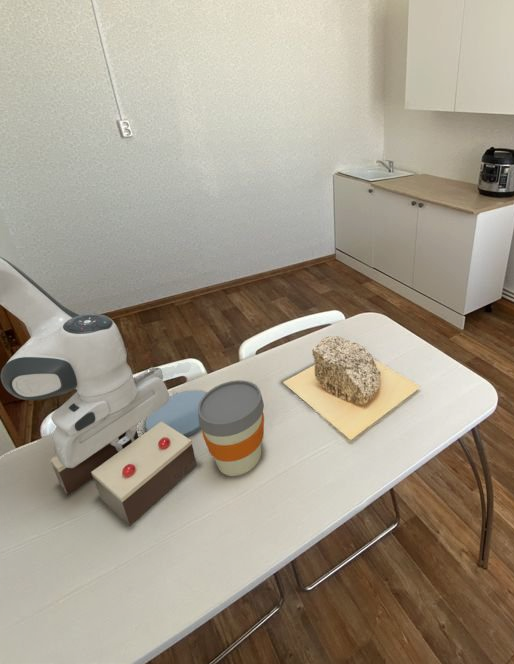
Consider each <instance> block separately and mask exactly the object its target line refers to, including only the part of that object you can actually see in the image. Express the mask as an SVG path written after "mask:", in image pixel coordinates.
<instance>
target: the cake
mask: <svg viewBox="0 0 514 664" xmlns="http://www.w3.org/2000/svg"><path fill="white" fill-rule="evenodd" d="M138 437H139V438H138V439H136V440H135V441H133V442H132V443H131V444H129V445H128V446H126V447H125V448H124V449H122V450H121V451H120V452H118V453H117V454H115V455H114V456H113V457H111V458H110V459H109V460H107V461H106V462H104V463H103V464H102V465H100V466H99V467H97V468H96V469H95V470H93V471H92V472H91V473H92V476H93V478H92V479H93V481H94V484H95V488H96V490H97V493H98V496H99V498H100V500H101V501H102V502H103V503H104V504H105V505H107V506H108V507H109V508H110V509H111V510H112V511H113V512H114V513H115V514H116V515H117V516H119V517H120V518H121V519H122V520H123V521H124V522H125V523H126V524H127V525H129V526H132V525H133V524H134V523H135V522H136V521H137V520H139V519H140V518H141V517H142V516H143V515H144V514H145V513H147V512H148V511H149V510H150V509H151V508H152V507H153V506H154V505H156V503H157V502H158V501H160V500H161V499H162V498H164V496H165V495H167V494H168V493H169V492H170V491H171V490H172V489H173V488H174V487H175V486H176V485H178V484H179V483H180V482H181V481H182V480H183V479H185V477H186V476H187V475H189V474H190V473H191V472H193V470H194V469H195V468H197V467H198V463H197V460H196V455H195V450H194V446H193V442H192V440H191V439H190V438H188V437H185V436H184V435H182V434H181V433H179V432H177V431H176V430H174V429H173V428H171V427H170V426H168V425H166V424H165V423H163V422H162V421H161V422H160V423H158V424H157V425H156V426H154V427H153V428H151V429H150V430H149V431H147V430H146V432H145V433H143V434H141V435H140V436H138Z"/></svg>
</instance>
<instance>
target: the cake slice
mask: <svg viewBox="0 0 514 664" xmlns="http://www.w3.org/2000/svg"><path fill="white" fill-rule="evenodd" d="M126 432H127V431H126ZM126 432H125V433H123V434H122V435H120V436H119V437H118V438H119V440H120V439H122V438H123V437H125V435H126ZM139 437H140V436H139V434H138V431H137V430H136V432H135V435H134V441H135V440H136V439H138V438H139ZM119 440H118V441H119ZM117 453H118V451H117V450H116V447H115V446H113V445H111V444H110V443H109V444H107V445H106V446H105V447H103V448H102V449H100V450H99V451H97V452H96V453H94V454H93V455H92V456H90V457H89V458H87V459H86V460H84V461H83V462H81V463H80V464H79V465H77V466H76V467H74V468H66V467H65V466H63V465H62V464H61V463H60V461H59V460H58V458H57V455H56V456H54V457H52V458H51V459H50V463H51V466H52V468H53V471H54V473H55V476H56V478H57V480H58V483H59V486H60V488H61V489H62V490H63V491H64V492H65V494H66V495H67V496H69V495H70V494H72V493H73V492H75V491H76V490H78V489H79V488H81V487H82V486H83V485H85V484H86V483H87V482H89V481H91V480H92V479H93V476H92V473H91V472H92V471H93V470H95V469H96V468H97V467H99V466H100V465H102V464H103V463H104V462H106V461H107V460H109V459H110V458H111V457H113V456H114V455H115V454H117Z"/></svg>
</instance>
